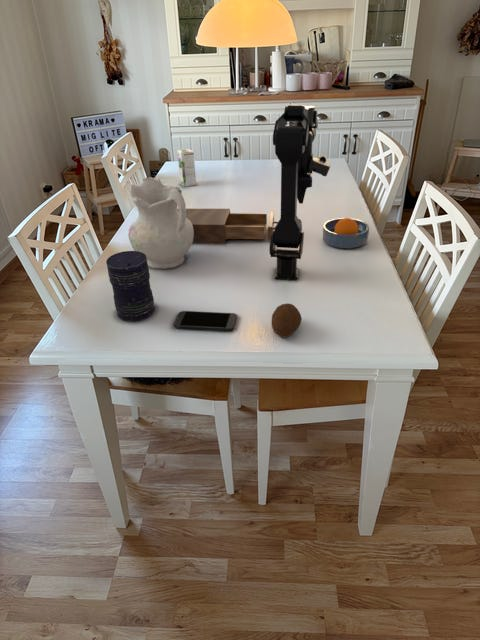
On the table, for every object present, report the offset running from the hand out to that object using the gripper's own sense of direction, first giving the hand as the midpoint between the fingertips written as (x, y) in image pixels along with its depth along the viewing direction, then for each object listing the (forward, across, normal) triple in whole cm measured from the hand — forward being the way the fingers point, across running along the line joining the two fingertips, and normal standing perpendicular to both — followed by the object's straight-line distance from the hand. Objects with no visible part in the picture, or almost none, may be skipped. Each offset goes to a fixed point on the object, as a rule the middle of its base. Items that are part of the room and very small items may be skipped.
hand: (301, 200), depth 155 cm
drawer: (+11, 0, +16) cm, 19 cm away
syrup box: (+12, +55, +50) cm, 75 cm away
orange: (+11, -4, -14) cm, 18 cm away
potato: (+12, -56, +2) cm, 57 cm away
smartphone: (+12, -54, +22) cm, 60 cm away
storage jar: (+12, -50, +42) cm, 66 cm away
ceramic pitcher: (+12, -21, +40) cm, 47 cm away
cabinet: (+12, 0, +34) cm, 36 cm away
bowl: (+12, -4, -14) cm, 19 cm away
